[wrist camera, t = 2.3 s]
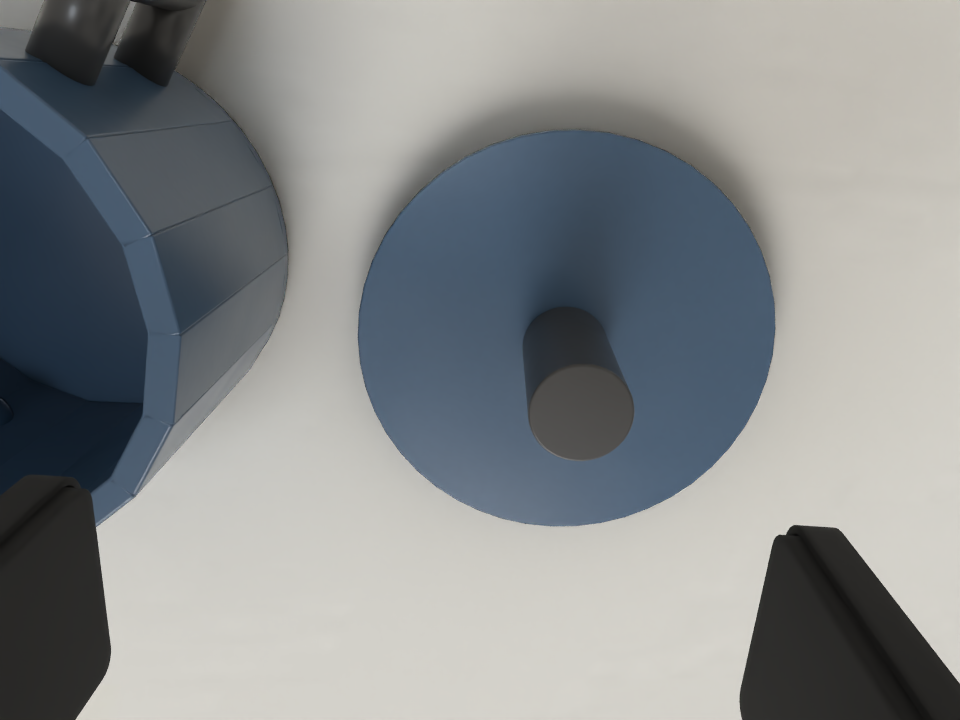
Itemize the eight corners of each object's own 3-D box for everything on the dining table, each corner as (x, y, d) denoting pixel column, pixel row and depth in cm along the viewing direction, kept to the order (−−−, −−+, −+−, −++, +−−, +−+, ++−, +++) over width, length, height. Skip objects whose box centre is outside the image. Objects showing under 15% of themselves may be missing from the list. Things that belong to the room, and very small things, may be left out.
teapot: (357, 180, 26) (277, 230, 17) (192, 476, 31) (54, 649, 21) (-13, -51, 24) (-339, -140, 15) (-137, 301, 28) (-455, 405, 19)
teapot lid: (850, 276, 27) (967, 337, 20) (609, 570, 32) (639, 702, 25) (501, 38, 25) (501, 18, 18) (294, 392, 29) (231, 483, 22)
